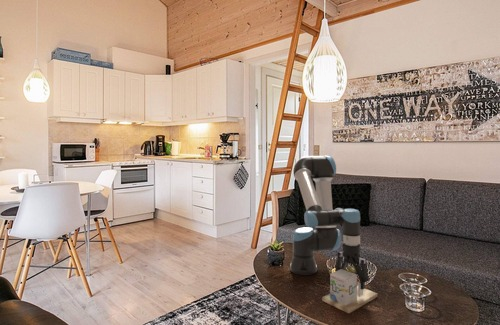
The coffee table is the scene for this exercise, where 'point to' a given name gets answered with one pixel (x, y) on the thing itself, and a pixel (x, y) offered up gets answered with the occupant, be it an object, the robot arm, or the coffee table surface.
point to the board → (354, 305)
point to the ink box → (343, 286)
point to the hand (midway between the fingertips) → (351, 291)
